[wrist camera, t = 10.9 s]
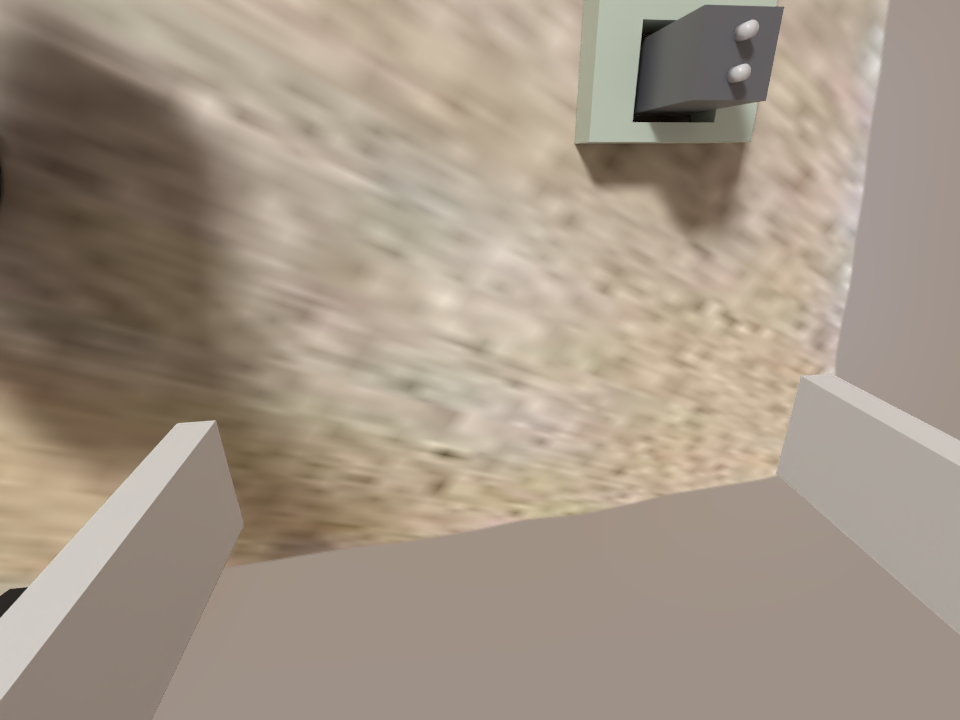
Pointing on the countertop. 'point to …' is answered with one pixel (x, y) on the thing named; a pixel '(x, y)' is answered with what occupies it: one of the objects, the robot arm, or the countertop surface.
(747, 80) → the charger
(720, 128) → the outlet plate
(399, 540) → the countertop surface
